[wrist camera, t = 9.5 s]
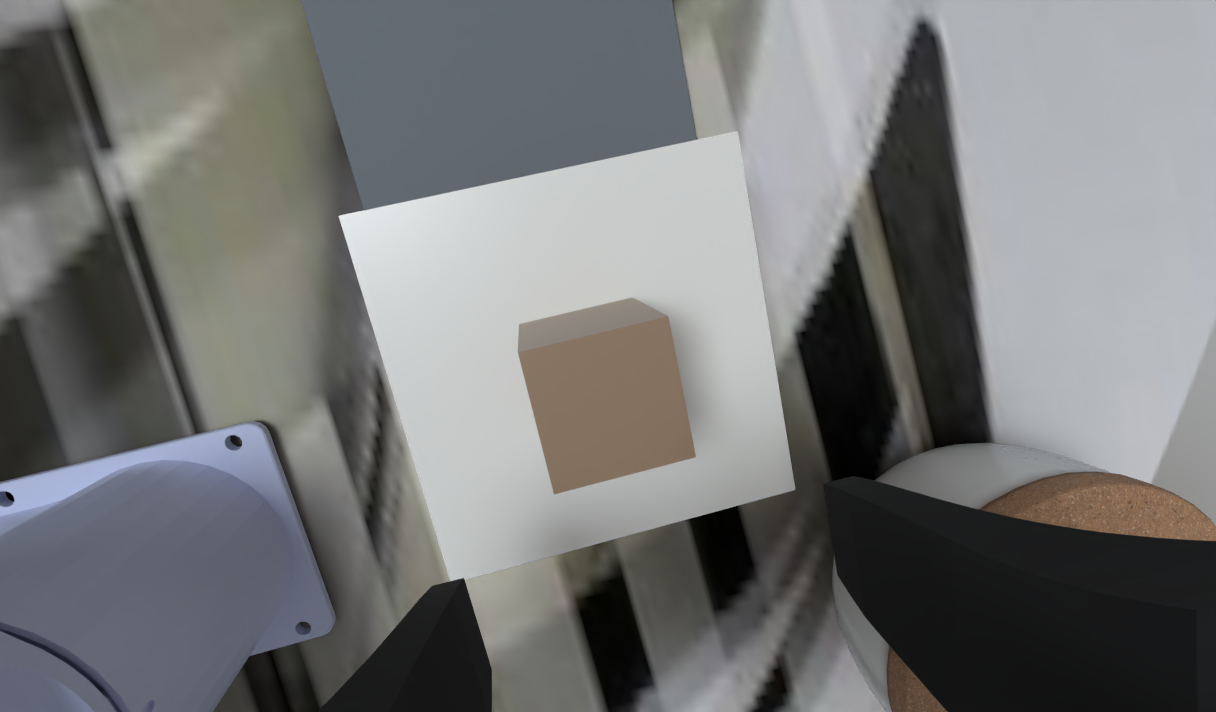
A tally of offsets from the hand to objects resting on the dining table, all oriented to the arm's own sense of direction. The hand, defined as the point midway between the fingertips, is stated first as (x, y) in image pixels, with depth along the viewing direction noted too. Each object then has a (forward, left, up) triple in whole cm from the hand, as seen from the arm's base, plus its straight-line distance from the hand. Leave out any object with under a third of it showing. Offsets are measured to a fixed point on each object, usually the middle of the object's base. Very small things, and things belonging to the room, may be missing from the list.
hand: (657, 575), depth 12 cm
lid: (0, +3, -6) cm, 7 cm away
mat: (0, +13, -10) cm, 17 cm away
